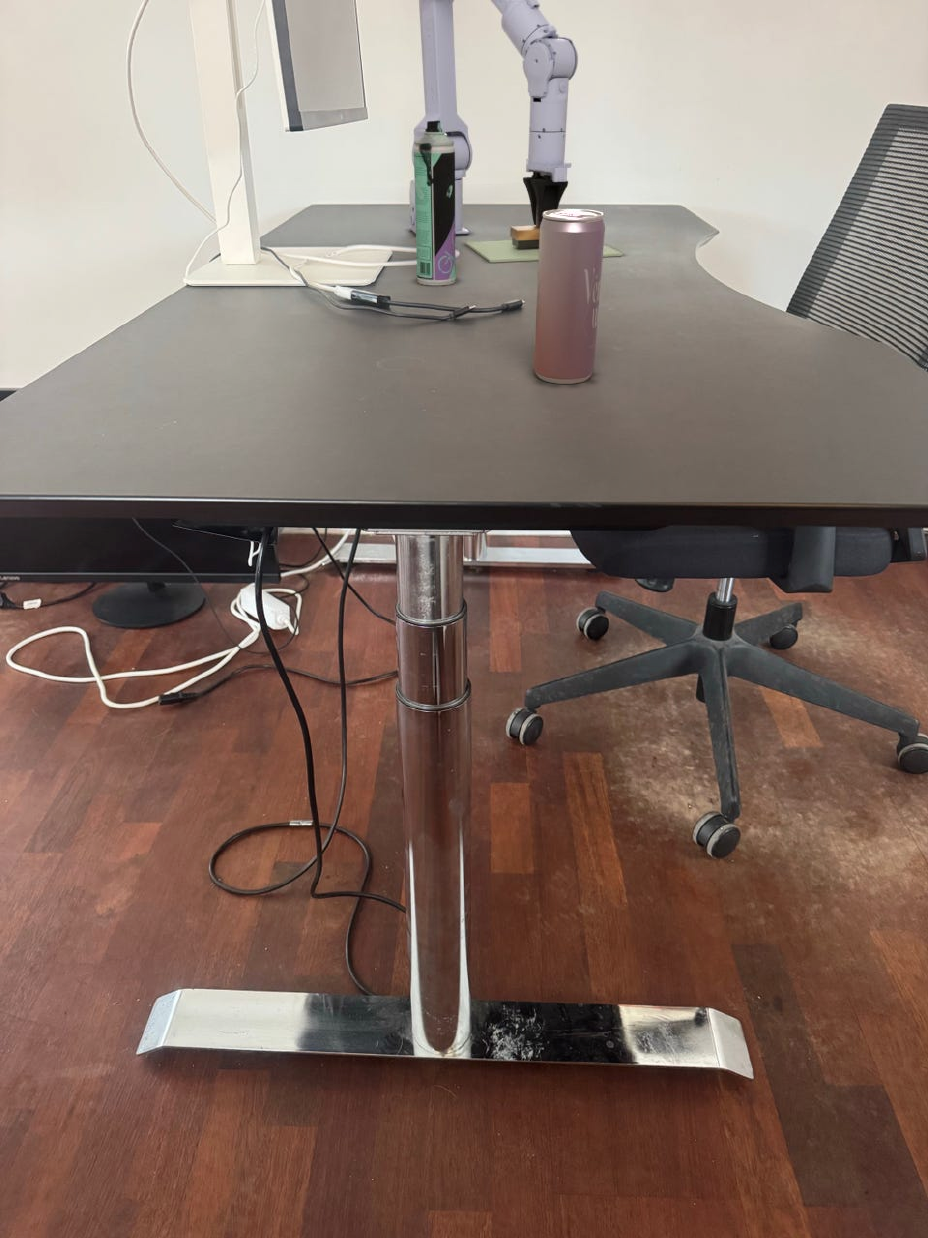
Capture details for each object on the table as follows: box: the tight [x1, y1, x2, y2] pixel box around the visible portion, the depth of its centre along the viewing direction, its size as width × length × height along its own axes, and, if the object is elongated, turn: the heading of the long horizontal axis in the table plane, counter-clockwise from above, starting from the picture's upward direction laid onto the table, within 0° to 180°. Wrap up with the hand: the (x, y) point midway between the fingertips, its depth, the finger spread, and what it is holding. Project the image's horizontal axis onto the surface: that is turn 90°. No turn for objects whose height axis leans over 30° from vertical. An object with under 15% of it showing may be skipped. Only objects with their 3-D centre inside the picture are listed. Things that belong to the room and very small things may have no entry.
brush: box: [509, 209, 540, 248], centre depth 142 cm, size 10×4×7 cm, turn 104°
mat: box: [465, 239, 623, 264], centre depth 144 cm, size 22×16×1 cm
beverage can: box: [533, 208, 606, 385], centre depth 84 cm, size 6×6×15 cm
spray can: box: [413, 121, 457, 286], centre depth 119 cm, size 6×6×20 cm
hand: (543, 225), depth 142 cm, fingers closed on brush, 2 cm apart
